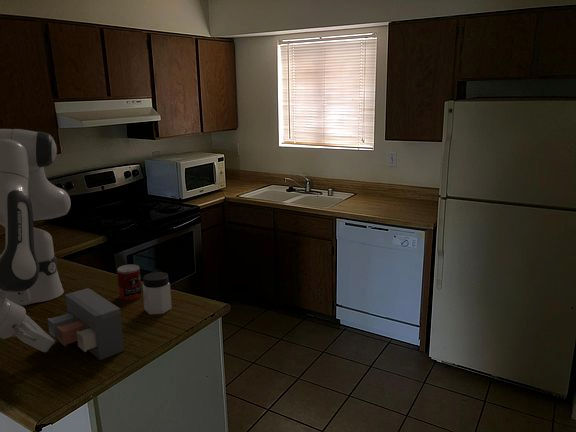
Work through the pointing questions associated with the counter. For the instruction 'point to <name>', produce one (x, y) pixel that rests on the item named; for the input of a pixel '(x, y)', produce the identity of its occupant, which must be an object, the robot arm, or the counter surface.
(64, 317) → the blue-grey key
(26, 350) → the counter surface
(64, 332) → the brick key
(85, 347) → the ivory key
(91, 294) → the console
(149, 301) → the jar
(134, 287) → the canned food
